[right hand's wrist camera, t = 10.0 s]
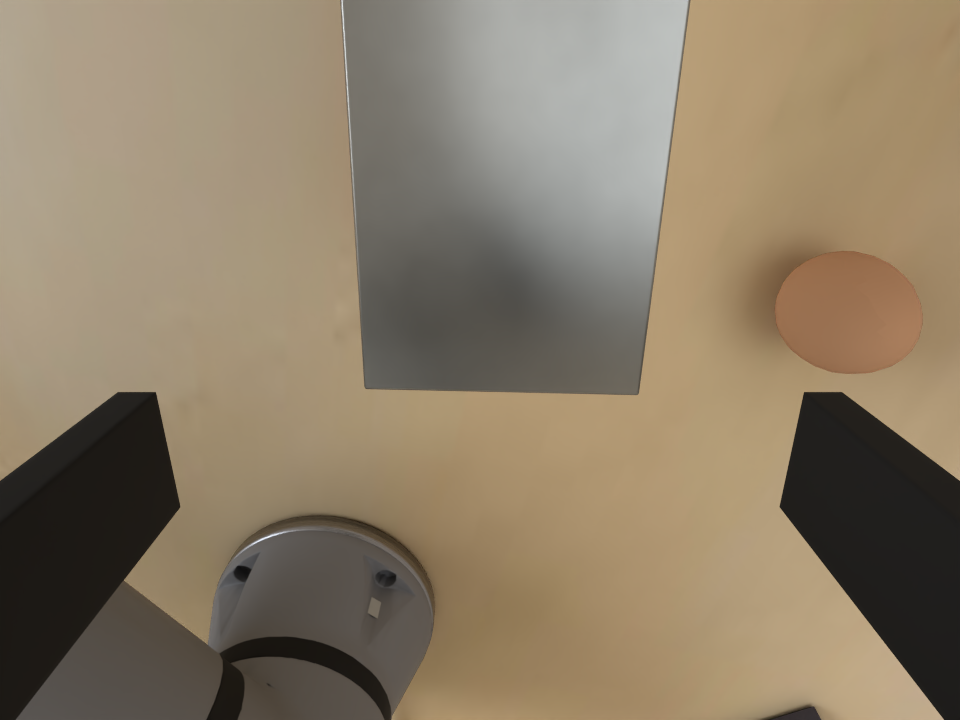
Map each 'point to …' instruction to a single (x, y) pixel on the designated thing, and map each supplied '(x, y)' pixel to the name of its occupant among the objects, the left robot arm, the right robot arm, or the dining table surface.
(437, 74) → the bar
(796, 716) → the notebook
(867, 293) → the egg
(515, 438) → the dining table surface
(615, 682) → the dining table surface
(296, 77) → the dining table surface
